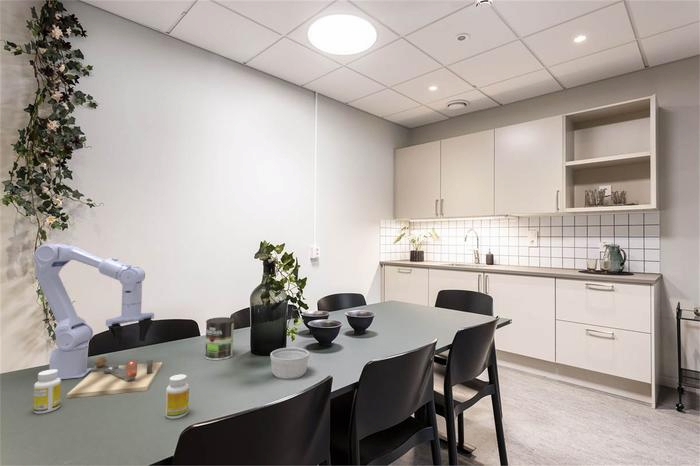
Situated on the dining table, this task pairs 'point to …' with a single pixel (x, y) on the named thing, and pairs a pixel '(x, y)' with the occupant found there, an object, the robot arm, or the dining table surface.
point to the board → (114, 380)
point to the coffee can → (219, 338)
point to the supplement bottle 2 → (177, 397)
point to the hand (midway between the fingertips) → (130, 343)
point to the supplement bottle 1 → (47, 392)
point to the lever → (124, 374)
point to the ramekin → (289, 362)
